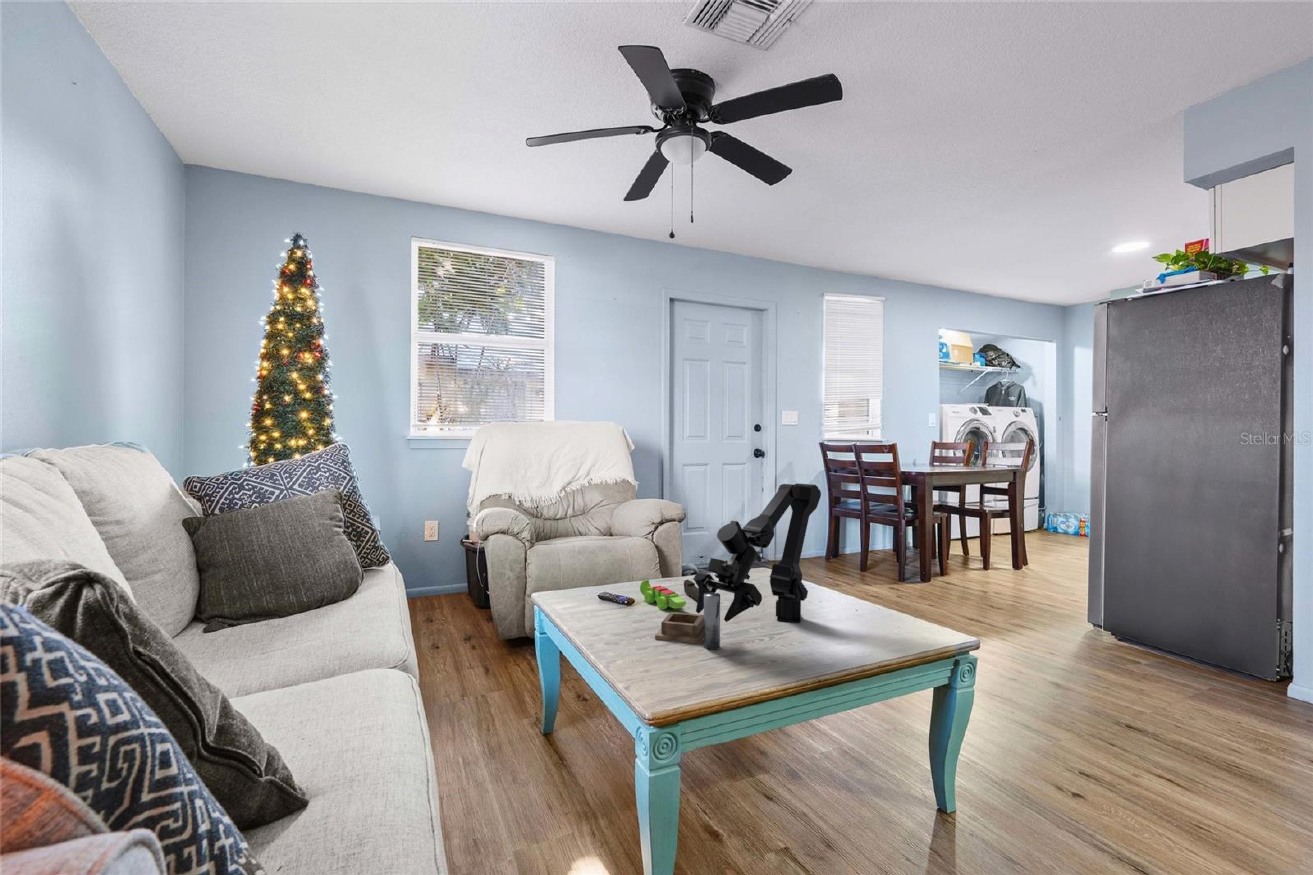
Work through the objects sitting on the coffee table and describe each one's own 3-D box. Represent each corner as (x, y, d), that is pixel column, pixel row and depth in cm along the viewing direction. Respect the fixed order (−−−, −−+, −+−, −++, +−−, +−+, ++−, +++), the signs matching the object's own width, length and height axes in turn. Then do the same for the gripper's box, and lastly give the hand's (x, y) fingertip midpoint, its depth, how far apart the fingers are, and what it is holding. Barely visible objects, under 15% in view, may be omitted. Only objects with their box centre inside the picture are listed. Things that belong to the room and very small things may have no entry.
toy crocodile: (689, 611, 177) (689, 591, 177) (671, 615, 174) (671, 594, 173) (654, 596, 194) (654, 577, 194) (636, 599, 190) (637, 580, 190)
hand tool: (714, 607, 182) (714, 592, 182) (702, 608, 181) (702, 593, 180) (692, 591, 200) (692, 577, 200) (681, 592, 199) (681, 578, 199)
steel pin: (721, 645, 149) (721, 593, 149) (718, 650, 145) (718, 597, 145) (705, 643, 150) (705, 591, 150) (702, 649, 146) (702, 596, 146)
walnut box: (710, 628, 161) (710, 613, 161) (701, 643, 150) (701, 627, 150) (667, 624, 165) (667, 610, 165) (655, 639, 153) (655, 623, 153)
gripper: (698, 541, 158) (668, 590, 150) (755, 551, 144) (725, 605, 136) (717, 566, 163) (689, 615, 155) (774, 578, 149) (746, 632, 142)
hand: (710, 616), depth 147 cm, fingers open, 9 cm apart
